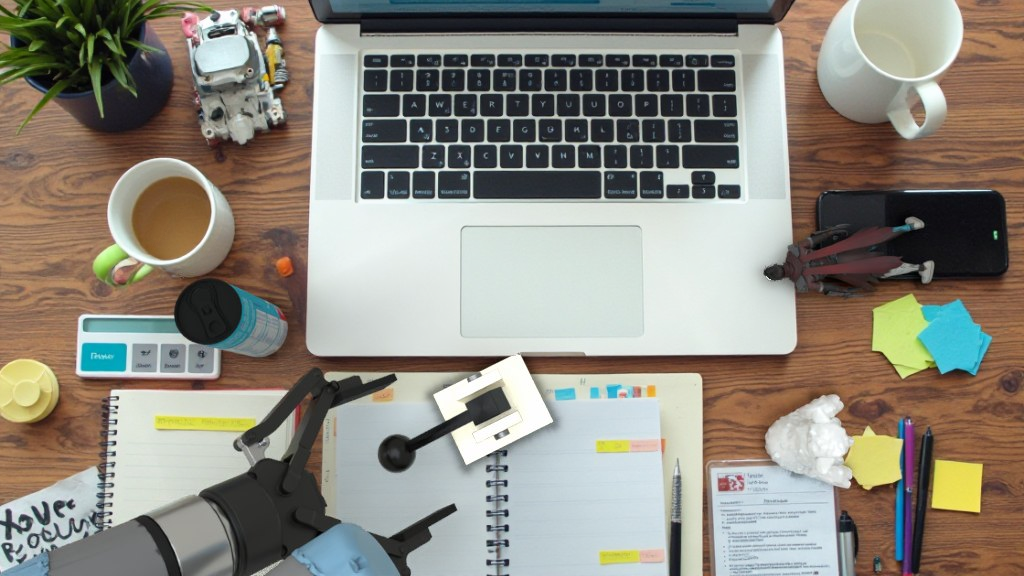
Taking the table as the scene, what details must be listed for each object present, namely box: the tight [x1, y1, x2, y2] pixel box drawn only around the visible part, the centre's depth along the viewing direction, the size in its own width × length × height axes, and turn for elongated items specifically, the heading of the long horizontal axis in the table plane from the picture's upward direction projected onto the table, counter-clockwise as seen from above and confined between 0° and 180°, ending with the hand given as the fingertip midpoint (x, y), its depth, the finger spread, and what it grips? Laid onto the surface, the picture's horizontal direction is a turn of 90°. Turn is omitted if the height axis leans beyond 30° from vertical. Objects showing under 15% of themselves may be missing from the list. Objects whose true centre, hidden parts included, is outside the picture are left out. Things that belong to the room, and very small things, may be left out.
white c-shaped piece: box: [432, 354, 554, 466], centre depth 73 cm, size 10×8×15 cm
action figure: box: [762, 216, 935, 301], centre depth 80 cm, size 8×6×18 cm
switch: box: [377, 387, 511, 474], centre depth 70 cm, size 14×4×4 cm, turn 117°
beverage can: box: [173, 277, 289, 358], centre depth 75 cm, size 6×6×15 cm
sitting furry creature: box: [764, 393, 855, 490], centre depth 74 cm, size 10×9×12 cm
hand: (418, 444), depth 74 cm, fingers open, 13 cm apart
